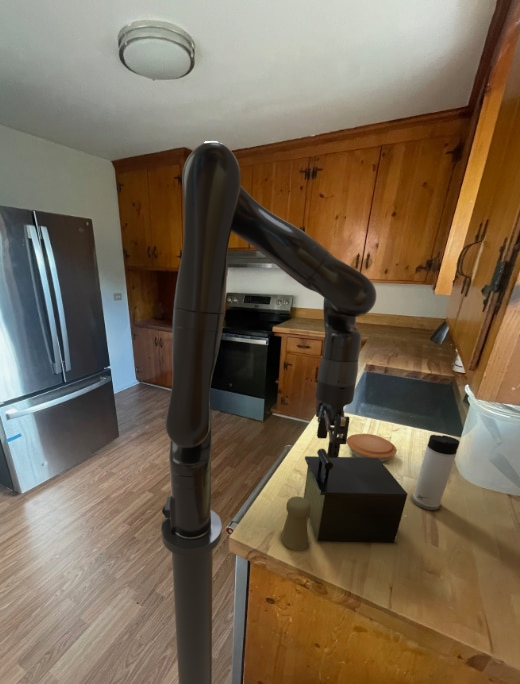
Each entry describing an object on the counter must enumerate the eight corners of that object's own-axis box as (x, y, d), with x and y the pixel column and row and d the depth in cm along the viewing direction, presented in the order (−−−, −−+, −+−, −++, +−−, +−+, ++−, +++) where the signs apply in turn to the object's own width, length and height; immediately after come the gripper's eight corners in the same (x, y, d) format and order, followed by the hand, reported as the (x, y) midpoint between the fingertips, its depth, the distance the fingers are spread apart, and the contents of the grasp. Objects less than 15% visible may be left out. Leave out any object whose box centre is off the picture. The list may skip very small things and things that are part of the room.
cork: (304, 530, 78) (309, 492, 74) (310, 550, 73) (316, 510, 69) (279, 529, 78) (283, 491, 74) (283, 550, 73) (287, 510, 69)
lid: (320, 495, 70) (323, 473, 68) (304, 458, 84) (307, 439, 82) (407, 497, 70) (413, 475, 68) (377, 460, 84) (381, 440, 82)
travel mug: (418, 510, 86) (438, 442, 78) (408, 494, 92) (426, 430, 84) (444, 512, 85) (466, 444, 77) (432, 496, 91) (452, 431, 83)
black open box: (317, 541, 75) (324, 495, 70) (303, 499, 89) (308, 459, 84) (394, 543, 75) (407, 497, 70) (368, 501, 89) (377, 460, 84)
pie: (394, 471, 102) (398, 457, 100) (342, 459, 108) (344, 446, 106) (394, 449, 115) (397, 436, 113) (347, 439, 121) (349, 427, 119)
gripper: (310, 368, 75) (303, 432, 81) (328, 390, 62) (318, 464, 68) (343, 369, 75) (333, 432, 81) (368, 390, 62) (354, 464, 68)
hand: (326, 446), depth 74 cm, fingers open, 8 cm apart
